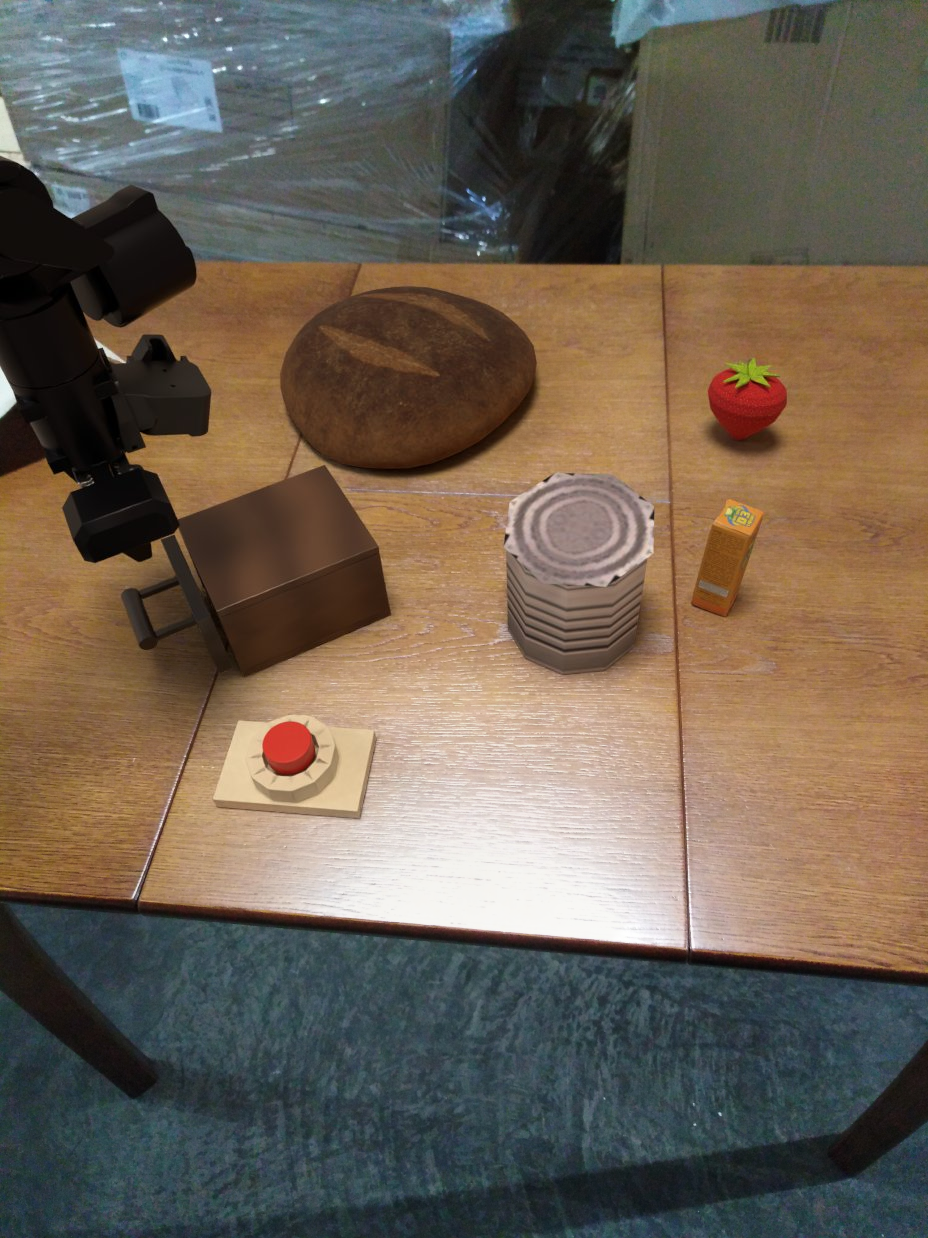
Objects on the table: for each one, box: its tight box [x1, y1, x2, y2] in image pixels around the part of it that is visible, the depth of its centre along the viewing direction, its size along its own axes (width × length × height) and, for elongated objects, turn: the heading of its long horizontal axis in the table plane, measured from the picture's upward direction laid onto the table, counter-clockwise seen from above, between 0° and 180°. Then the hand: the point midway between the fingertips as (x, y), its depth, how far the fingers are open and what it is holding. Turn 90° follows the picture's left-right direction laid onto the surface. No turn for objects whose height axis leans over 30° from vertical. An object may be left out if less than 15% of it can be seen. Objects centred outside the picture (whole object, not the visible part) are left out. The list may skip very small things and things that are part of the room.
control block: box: [212, 713, 377, 819], centre depth 67 cm, size 11×7×3 cm, turn 83°
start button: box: [262, 721, 315, 775], centre depth 66 cm, size 4×4×2 cm
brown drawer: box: [120, 534, 234, 675], centre depth 75 cm, size 17×10×7 cm, turn 118°
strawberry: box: [707, 357, 788, 441], centre depth 87 cm, size 6×8×10 cm
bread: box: [279, 285, 538, 470], centre depth 95 cm, size 28×27×9 cm
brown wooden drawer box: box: [177, 464, 392, 678], centre depth 77 cm, size 14×12×9 cm
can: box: [503, 472, 655, 676], centre depth 72 cm, size 11×11×12 cm
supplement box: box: [690, 498, 765, 617], centre depth 73 cm, size 3×3×10 cm
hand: (137, 539), depth 67 cm, fingers open, 4 cm apart
